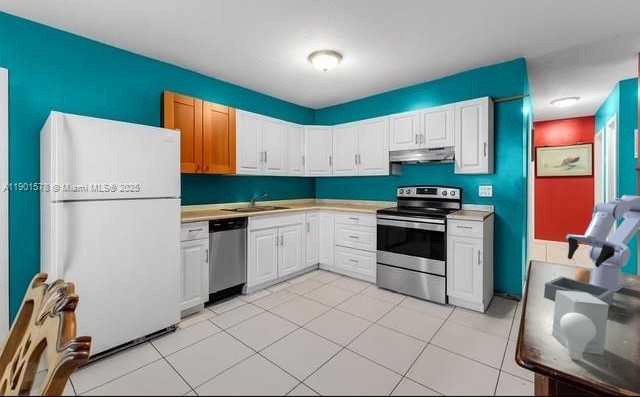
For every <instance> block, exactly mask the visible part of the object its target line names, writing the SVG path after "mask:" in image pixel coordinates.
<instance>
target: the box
mask: <svg viewBox="0 0 640 397" xmlns="http://www.w3.org/2000/svg"><path fill="white" fill-rule="evenodd" d="M556 290H560V291H574V292H585V293H588V294H590V295H592V296H594V297H596V298H597V299H599V300H601V301H603V302H605V303H607V304H608V305H609V308H610V307H611V306H612V305H613V301H614V295H615V292H614V290H612V289H608V288H604V287H600V286H596V285H593V284H589V283H585V282H581V281H577V280H575V279H573V278H570V277H565V276H559V277H558V278H554V279H553V280H550V281H547V282H546V283H544V291H543V292H544V293H543V298H546V299H547V300H548V299H549V300H552V301H554V302H555V298H556Z"/></svg>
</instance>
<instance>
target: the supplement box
mask: <svg viewBox="0 0 640 397" xmlns="http://www.w3.org/2000/svg"><path fill="white" fill-rule="evenodd" d="M609 308H610V307H609V305H608V304H607V303H605V302H603V301H601V300H599V299H597V298H596V297H594V296H592V295H590V294H588V293H585V292H574V291H560V290H556V298H555V301H554V310H553V318H552V319H553V320H552V321H553V322H552V331H551V336H553V337H554V338H555V339H556V340H557V341H558V342H560V344H562V346H564V348H566V349H567V345H566V337H565V334H564V333H563V331H562V328H561V326H560V320H561V318H562V317H563V316H564V315H565V314H567V313H580V314H582V315H584V316H586V317H588V318H589V319H590V320H591V321H592V322H593V323H594V325H595V328H596V335H595V337H594V338H593V339H592V340H591V341H589V342H588V343H587V345H586V347H585V350H584V352H583V354H592V355H593V354H594V355H604V352H605V343H606V335H607V333H606V332H607V325H608V314H609Z"/></svg>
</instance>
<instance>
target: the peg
mask: <svg viewBox="0 0 640 397" xmlns="http://www.w3.org/2000/svg"><path fill="white" fill-rule="evenodd" d="M591 273H592V271H591V270H589V269H586V268H585V269H584V268H575V276H574V280H577V281H581V282H585V283H589V282H591V281H590V280H591Z"/></svg>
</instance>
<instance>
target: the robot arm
mask: <svg viewBox="0 0 640 397" xmlns="http://www.w3.org/2000/svg"><path fill="white" fill-rule="evenodd" d="M622 218H623V219H624V220H623V221H622V222H621V224H620V225H619V226H618V227H617V228H616V230H615V231H614V232H613V233H612V235H611V236H610V238H608V236H609V234H610V232H611V230H612V228H613V226H614V224H615V223H616V221H620V220H621V219H622ZM591 219H592V220H591V221H590V223H589V225H588V227H587V229H586V231H585V233H584V235H580V234H579V235H577V234H572V233H571V234H570V233H567V235H566V237H565V240H566V241H567V242H568V252H567V253H568V254H567V258H568V259H569V260H572V259H573V256H574V254H575V252H576V251H577V250H578V248H580V245H579V244H584V245H587V246H590V248H589V250H588V257H589V260H591V262H592V263H593V271H592V277H591V278H592V280H591V281H590V282H589V284H593V285H596V286H600V287H604V288H608V289H612V290H614V293H616V292H618V291H619V290H621V289H623V288H624V285H621V277H622V269H621V268H623V267H625V266H627V265H628V262H629V261H630V260H629V259H630V257H631V250H630V247H629V246H627V245H628V244H629V243H630V241H631V239H632V238H633V237H634V236H635V235H636V234H637V232H638V231H639V229H640V195H628V194H624V195H622V196H621V197H620V198H618V197H616V198H614V200H611V201H608V202H606V203H598V204H596V205H594V207H593V213H592V215H591ZM607 238H608V239H607Z"/></svg>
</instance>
